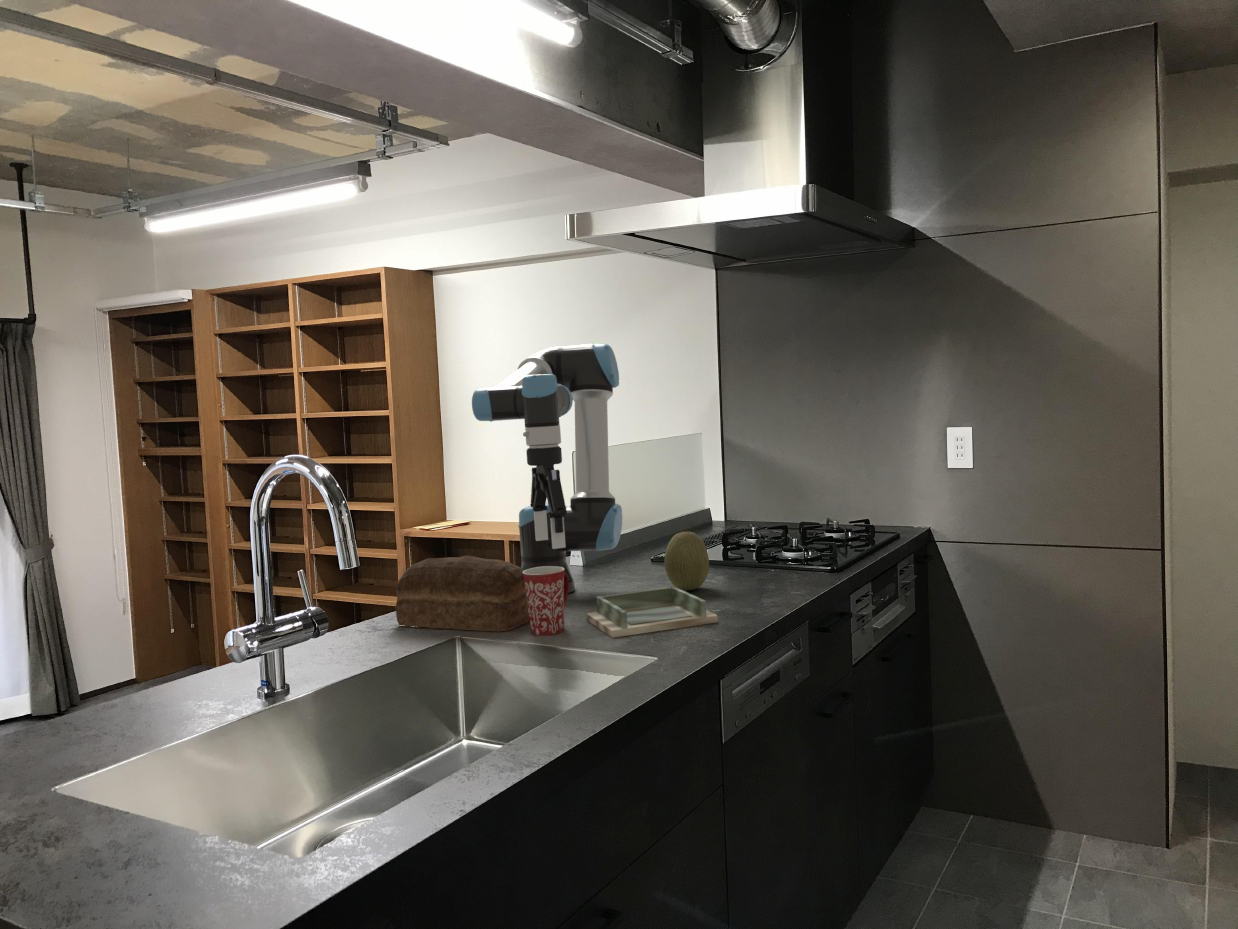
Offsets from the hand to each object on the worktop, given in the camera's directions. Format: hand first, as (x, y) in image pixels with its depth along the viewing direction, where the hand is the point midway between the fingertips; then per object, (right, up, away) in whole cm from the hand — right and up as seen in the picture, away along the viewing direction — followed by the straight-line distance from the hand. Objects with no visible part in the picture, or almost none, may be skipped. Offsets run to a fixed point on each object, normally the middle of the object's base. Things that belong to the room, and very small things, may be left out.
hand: (550, 544), depth 206 cm
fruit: (+32, -15, +34) cm, 49 cm away
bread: (-20, -20, +13) cm, 31 cm away
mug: (0, -19, +1) cm, 19 cm away
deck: (+22, -17, +3) cm, 28 cm away
